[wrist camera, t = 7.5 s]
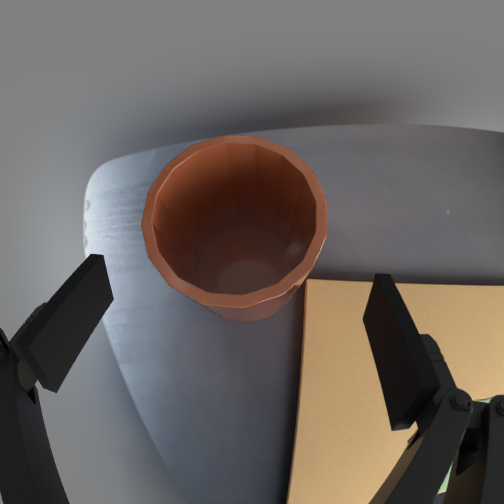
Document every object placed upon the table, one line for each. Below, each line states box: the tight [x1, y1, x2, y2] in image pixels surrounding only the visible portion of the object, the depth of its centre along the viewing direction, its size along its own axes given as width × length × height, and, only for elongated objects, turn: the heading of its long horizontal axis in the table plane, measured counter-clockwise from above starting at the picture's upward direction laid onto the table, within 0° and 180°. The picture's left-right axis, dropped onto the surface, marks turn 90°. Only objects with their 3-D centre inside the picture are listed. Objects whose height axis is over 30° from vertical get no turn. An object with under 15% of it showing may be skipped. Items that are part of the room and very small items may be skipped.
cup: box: [141, 135, 327, 323], centre depth 18 cm, size 8×8×11 cm
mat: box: [286, 279, 504, 504], centre depth 19 cm, size 21×19×1 cm
